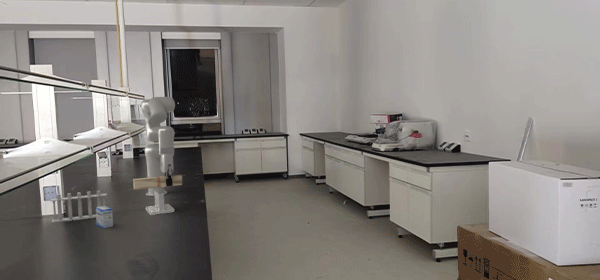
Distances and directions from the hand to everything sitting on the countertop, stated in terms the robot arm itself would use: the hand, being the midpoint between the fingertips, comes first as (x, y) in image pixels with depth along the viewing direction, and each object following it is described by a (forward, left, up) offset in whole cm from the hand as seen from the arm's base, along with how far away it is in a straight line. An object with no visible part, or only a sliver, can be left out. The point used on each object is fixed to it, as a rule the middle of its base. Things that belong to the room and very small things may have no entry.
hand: (168, 184), depth 232 cm
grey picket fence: (-6, -42, -13) cm, 45 cm away
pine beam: (0, -5, 0) cm, 5 cm away
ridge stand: (0, -5, -13) cm, 14 cm away
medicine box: (+16, -33, -13) cm, 39 cm away
